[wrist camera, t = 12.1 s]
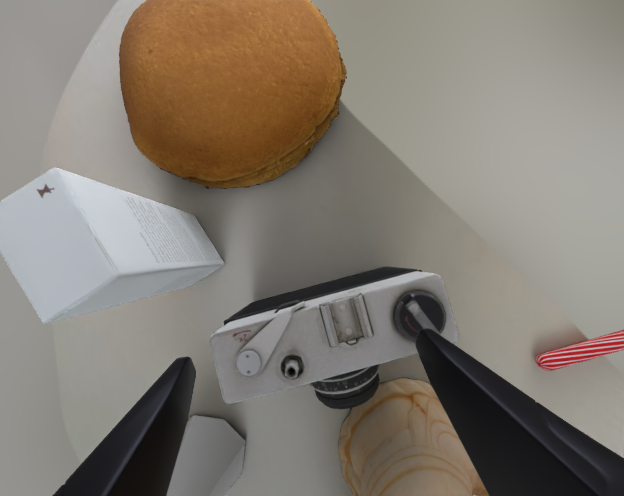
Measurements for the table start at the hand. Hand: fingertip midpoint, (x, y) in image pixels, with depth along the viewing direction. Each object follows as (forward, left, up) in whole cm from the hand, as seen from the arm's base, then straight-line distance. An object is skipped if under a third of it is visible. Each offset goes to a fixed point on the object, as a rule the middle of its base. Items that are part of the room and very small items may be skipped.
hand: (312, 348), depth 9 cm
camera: (-3, -1, -13) cm, 13 cm away
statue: (-14, -8, -13) cm, 20 cm away
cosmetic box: (+4, +12, -13) cm, 18 cm away
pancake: (+21, +3, -17) cm, 27 cm away
